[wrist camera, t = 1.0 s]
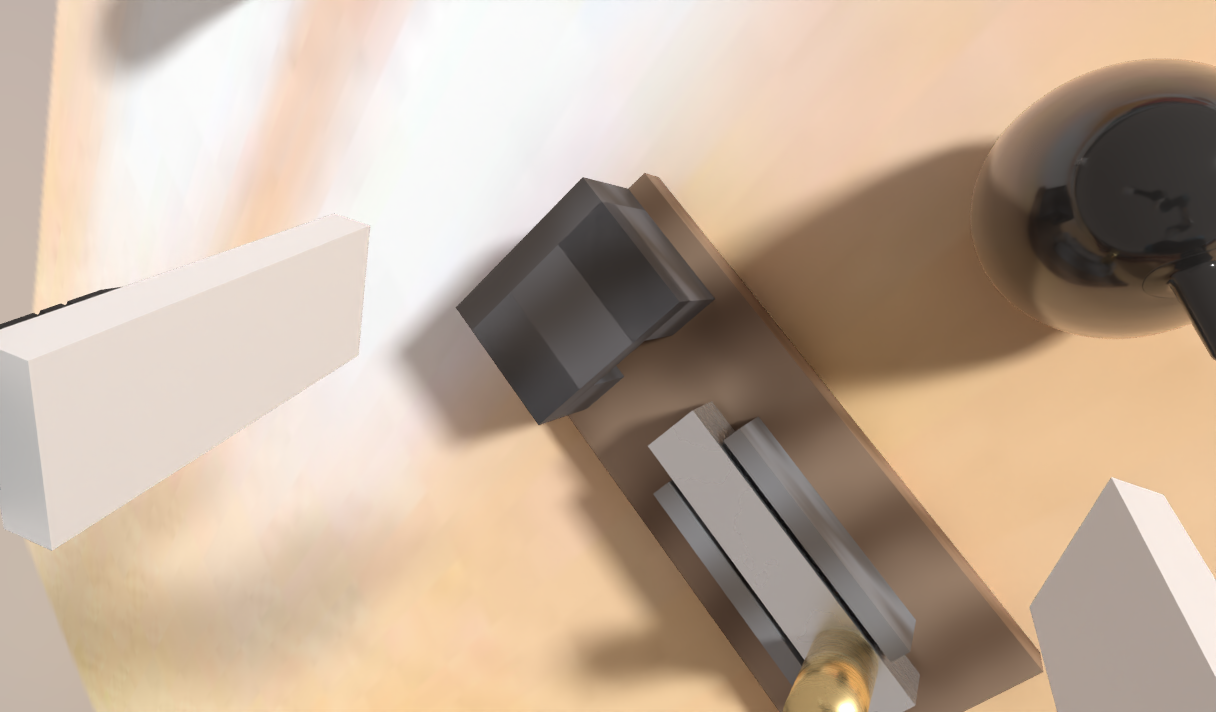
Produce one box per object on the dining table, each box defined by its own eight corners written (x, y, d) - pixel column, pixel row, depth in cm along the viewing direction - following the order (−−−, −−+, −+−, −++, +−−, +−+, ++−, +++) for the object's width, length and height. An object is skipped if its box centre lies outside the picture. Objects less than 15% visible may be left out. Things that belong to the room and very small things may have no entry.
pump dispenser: (1014, 365, 36) (1037, 418, 22) (940, 153, 37) (919, 79, 23) (1285, 291, 32) (1520, 302, 18) (1197, 52, 32) (1361, -115, 18)
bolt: (919, 673, 37) (905, 778, 29) (867, 701, 38) (839, 809, 30) (712, 401, 40) (648, 430, 32) (669, 434, 41) (598, 470, 33)
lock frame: (1039, 652, 37) (1053, 734, 30) (834, 757, 41) (807, 848, 35) (658, 177, 43) (600, 159, 36) (516, 315, 47) (441, 322, 41)
